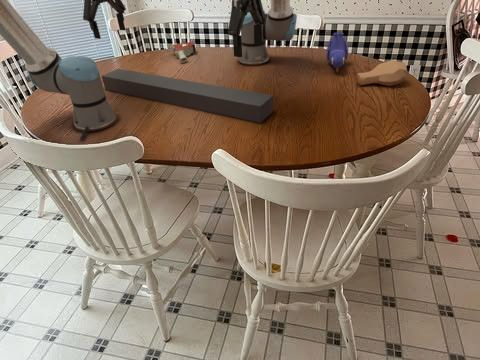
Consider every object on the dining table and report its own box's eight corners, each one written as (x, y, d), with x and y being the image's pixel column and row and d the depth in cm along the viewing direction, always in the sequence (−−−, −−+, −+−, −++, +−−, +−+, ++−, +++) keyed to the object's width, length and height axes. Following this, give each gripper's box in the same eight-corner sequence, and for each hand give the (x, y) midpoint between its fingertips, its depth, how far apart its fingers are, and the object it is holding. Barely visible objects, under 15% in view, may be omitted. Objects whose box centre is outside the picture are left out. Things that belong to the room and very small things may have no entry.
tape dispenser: (183, 66, 184) (206, 53, 197) (182, 56, 181) (205, 43, 193) (158, 60, 192) (181, 48, 204) (156, 51, 188) (180, 38, 201)
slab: (105, 89, 160) (101, 75, 156) (121, 81, 167) (118, 68, 163) (260, 123, 126) (260, 106, 122) (273, 111, 133) (273, 95, 129)
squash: (410, 86, 145) (414, 66, 139) (360, 95, 147) (362, 76, 141) (400, 73, 153) (404, 53, 146) (353, 81, 155) (354, 62, 148)
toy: (325, 68, 179) (325, 75, 157) (327, 32, 172) (327, 34, 150) (346, 67, 177) (349, 74, 155) (348, 31, 170) (351, 33, 148)
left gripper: (75, -20, 125) (93, 42, 137) (126, -29, 142) (138, 27, 154) (61, -20, 128) (80, 41, 140) (113, -29, 145) (125, 26, 157)
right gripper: (234, -16, 96) (239, 63, 108) (275, -28, 113) (275, 41, 125) (212, -16, 99) (218, 60, 112) (254, -28, 116) (256, 39, 129)
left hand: (110, 34), depth 147 cm, fingers open, 13 cm apart
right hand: (248, 50), depth 118 cm, fingers open, 13 cm apart
